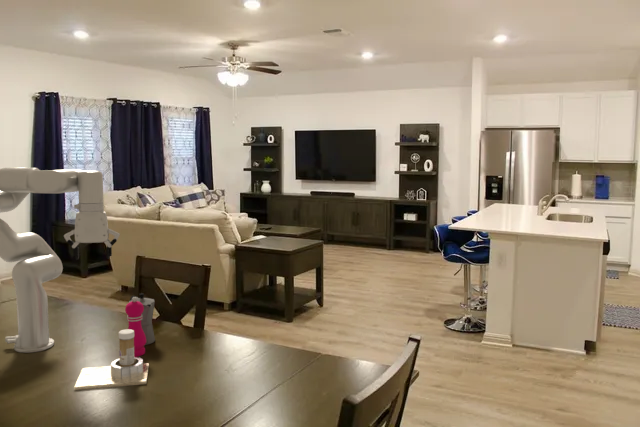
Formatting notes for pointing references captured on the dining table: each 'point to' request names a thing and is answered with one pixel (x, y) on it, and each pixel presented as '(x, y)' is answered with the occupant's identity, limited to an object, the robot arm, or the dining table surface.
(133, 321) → the pepper mill
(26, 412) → the dining table surface
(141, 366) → the white ring holder board
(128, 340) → the sprinkles bottle
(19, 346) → the robot arm
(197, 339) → the dining table surface
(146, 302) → the coffeepot
